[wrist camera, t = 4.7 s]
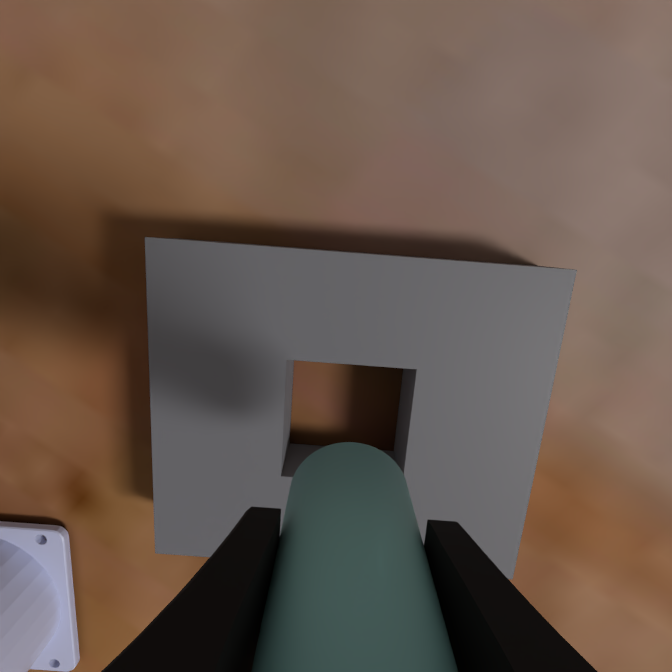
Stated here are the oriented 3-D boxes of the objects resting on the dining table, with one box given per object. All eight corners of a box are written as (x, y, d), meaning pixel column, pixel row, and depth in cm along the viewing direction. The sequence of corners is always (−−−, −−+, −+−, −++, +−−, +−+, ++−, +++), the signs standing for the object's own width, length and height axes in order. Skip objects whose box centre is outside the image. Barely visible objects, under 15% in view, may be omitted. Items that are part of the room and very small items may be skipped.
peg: (287, 543, 10) (217, 929, 5) (291, 438, 10) (216, 732, 4) (402, 550, 10) (480, 945, 5) (413, 445, 10) (524, 750, 4)
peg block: (180, 511, 18) (155, 553, 15) (176, 238, 15) (145, 237, 13) (489, 533, 18) (512, 579, 16) (539, 266, 15) (576, 270, 13)
